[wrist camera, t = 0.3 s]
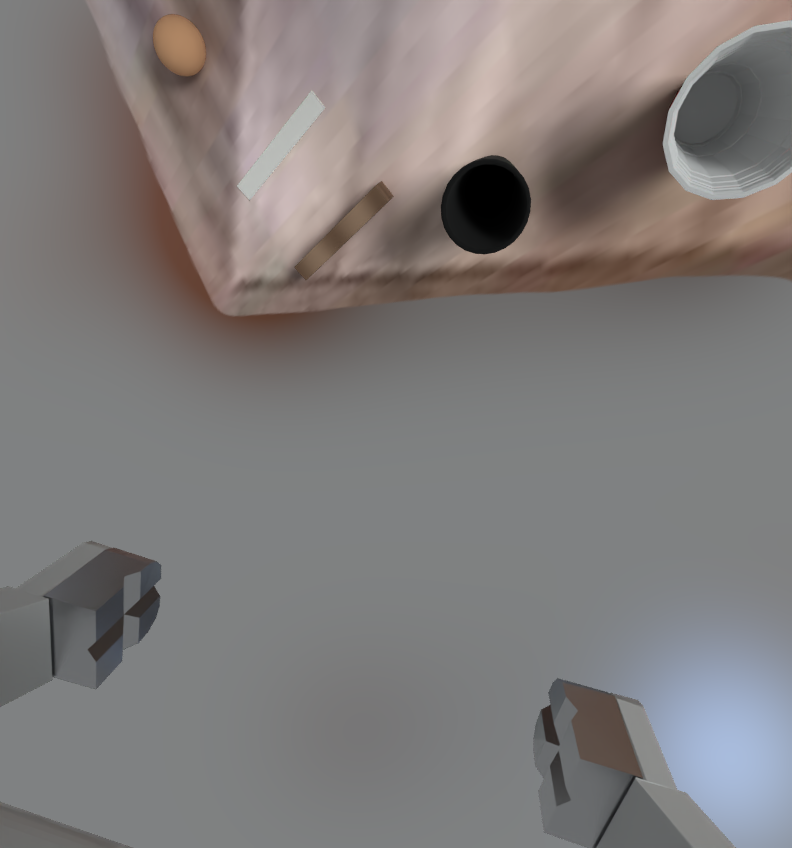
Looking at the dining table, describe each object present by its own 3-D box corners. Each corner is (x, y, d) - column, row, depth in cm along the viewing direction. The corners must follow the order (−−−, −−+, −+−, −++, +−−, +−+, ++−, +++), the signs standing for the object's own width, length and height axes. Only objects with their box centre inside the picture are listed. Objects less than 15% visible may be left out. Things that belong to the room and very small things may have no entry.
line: (314, 90, 49) (311, 90, 48) (328, 107, 50) (325, 107, 49) (240, 184, 56) (236, 186, 55) (253, 198, 57) (249, 200, 56)
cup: (461, 229, 53) (448, 261, 44) (450, 153, 49) (433, 171, 39) (531, 215, 51) (534, 245, 41) (525, 135, 47) (527, 148, 37)
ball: (186, 3, 46) (156, -3, 42) (223, 49, 48) (198, 47, 44) (163, 45, 49) (133, 42, 45) (199, 88, 50) (173, 88, 46)
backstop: (381, 181, 52) (375, 185, 49) (393, 196, 52) (387, 201, 50) (303, 259, 59) (294, 267, 57) (314, 272, 60) (306, 280, 57)
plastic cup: (631, 64, 42) (664, 58, 32) (777, 10, 38) (862, -13, 29) (636, 191, 47) (666, 218, 38) (764, 155, 44) (831, 176, 34)
